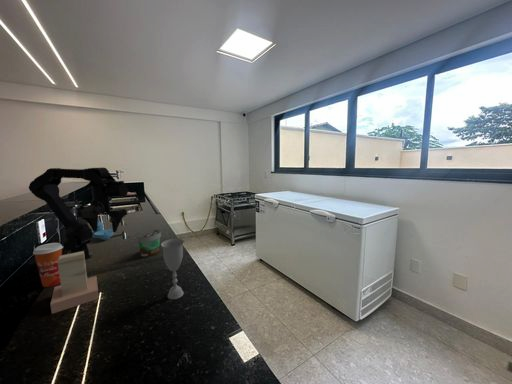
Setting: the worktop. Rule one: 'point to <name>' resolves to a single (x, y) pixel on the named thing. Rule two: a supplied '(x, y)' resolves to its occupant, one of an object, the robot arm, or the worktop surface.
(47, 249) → the paper cup
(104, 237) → the soap dispenser
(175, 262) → the chalice
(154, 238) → the food container
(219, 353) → the worktop surface
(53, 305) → the plinth
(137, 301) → the worktop surface
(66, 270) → the pillar
